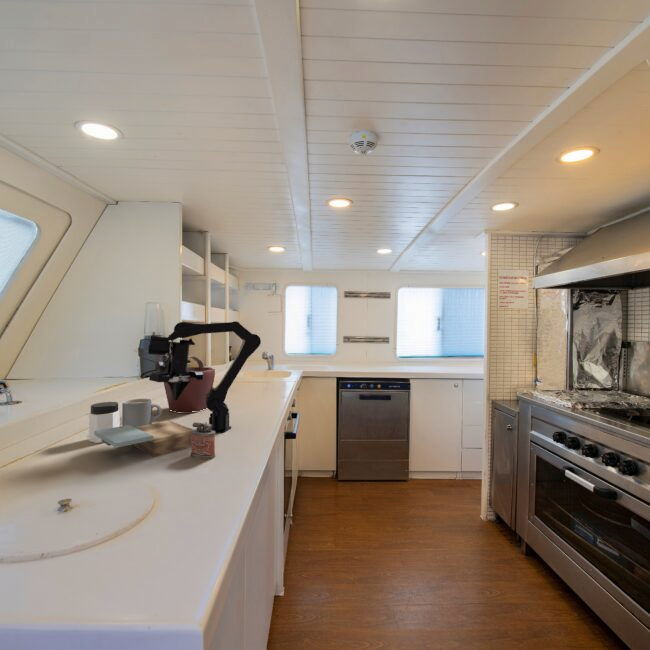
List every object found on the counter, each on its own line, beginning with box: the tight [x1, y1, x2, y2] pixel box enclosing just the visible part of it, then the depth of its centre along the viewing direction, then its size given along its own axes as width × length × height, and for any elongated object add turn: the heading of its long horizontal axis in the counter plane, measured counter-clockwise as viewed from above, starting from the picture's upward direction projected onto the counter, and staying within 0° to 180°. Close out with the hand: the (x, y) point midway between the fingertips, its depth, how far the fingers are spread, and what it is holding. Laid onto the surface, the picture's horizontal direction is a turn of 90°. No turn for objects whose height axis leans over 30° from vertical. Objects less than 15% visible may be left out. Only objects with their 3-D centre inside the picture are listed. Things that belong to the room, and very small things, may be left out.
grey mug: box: [121, 398, 162, 427], centre depth 137 cm, size 13×10×10 cm
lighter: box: [190, 421, 216, 460], centre depth 105 cm, size 8×3×10 cm, turn 71°
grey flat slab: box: [94, 425, 153, 448], centre depth 107 cm, size 2×18×10 cm
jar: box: [88, 401, 121, 444], centre depth 121 cm, size 9×8×12 cm
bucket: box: [163, 355, 216, 412], centre depth 166 cm, size 24×22×25 cm
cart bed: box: [131, 420, 195, 457], centre depth 115 cm, size 13×18×5 cm
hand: (175, 400), depth 126 cm, fingers closed
